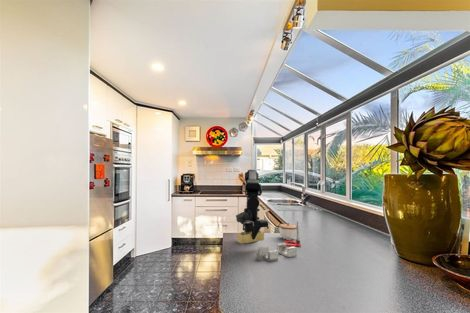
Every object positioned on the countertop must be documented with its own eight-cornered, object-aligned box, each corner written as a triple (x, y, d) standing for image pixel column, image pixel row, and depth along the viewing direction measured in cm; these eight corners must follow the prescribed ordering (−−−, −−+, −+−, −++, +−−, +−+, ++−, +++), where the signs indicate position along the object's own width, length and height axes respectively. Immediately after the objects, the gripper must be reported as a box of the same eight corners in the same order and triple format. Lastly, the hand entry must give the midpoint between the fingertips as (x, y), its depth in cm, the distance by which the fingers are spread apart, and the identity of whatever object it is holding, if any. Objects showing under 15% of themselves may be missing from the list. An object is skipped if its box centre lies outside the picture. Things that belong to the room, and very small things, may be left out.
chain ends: (252, 257, 107) (253, 248, 108) (288, 250, 120) (288, 242, 120) (264, 263, 101) (264, 253, 101) (300, 254, 114) (300, 246, 114)
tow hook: (284, 247, 127) (301, 247, 126) (283, 222, 128) (300, 222, 128) (281, 243, 135) (297, 243, 135) (281, 220, 136) (297, 220, 136)
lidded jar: (287, 235, 151) (288, 220, 152) (300, 239, 142) (300, 224, 143) (275, 237, 145) (275, 222, 146) (287, 241, 136) (288, 225, 137)
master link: (237, 241, 114) (237, 232, 114) (259, 238, 122) (259, 229, 122) (241, 243, 111) (242, 233, 111) (264, 240, 119) (264, 230, 119)
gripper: (228, 204, 121) (227, 235, 119) (251, 209, 105) (249, 245, 104) (245, 204, 127) (244, 233, 126) (269, 208, 112) (268, 242, 110)
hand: (251, 238), depth 116 cm, fingers closed on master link, 3 cm apart
